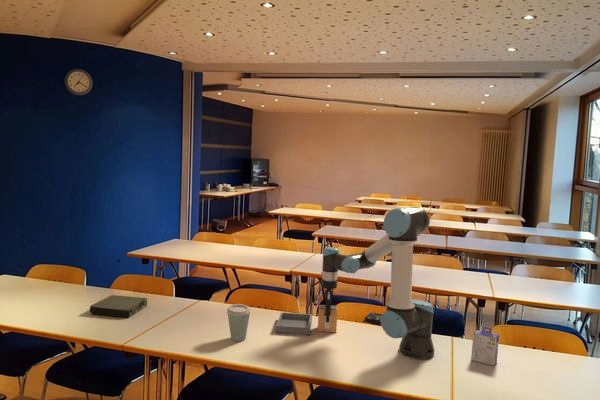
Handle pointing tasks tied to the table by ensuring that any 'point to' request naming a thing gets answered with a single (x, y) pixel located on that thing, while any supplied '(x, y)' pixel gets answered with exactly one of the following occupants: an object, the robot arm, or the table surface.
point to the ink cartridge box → (485, 346)
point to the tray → (294, 323)
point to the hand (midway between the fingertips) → (327, 325)
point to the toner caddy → (332, 319)
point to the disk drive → (373, 318)
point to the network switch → (118, 306)
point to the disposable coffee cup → (238, 321)
